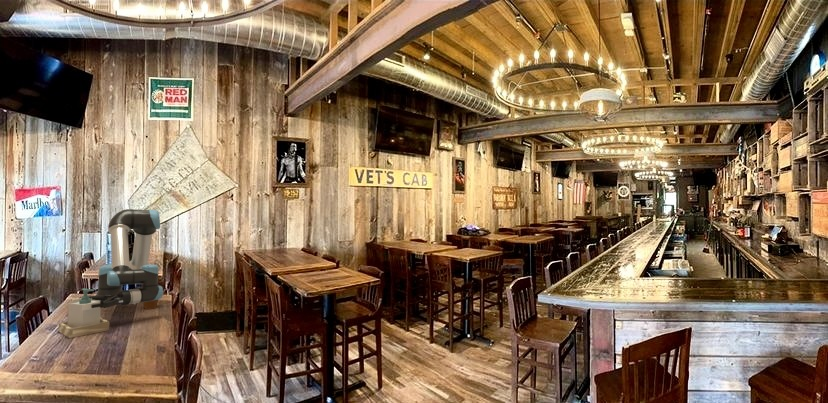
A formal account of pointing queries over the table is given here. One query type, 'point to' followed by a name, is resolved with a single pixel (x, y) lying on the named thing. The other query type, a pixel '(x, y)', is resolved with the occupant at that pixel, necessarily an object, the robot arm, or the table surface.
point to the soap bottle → (83, 312)
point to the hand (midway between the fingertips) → (76, 304)
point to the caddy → (83, 329)
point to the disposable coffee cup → (150, 304)
